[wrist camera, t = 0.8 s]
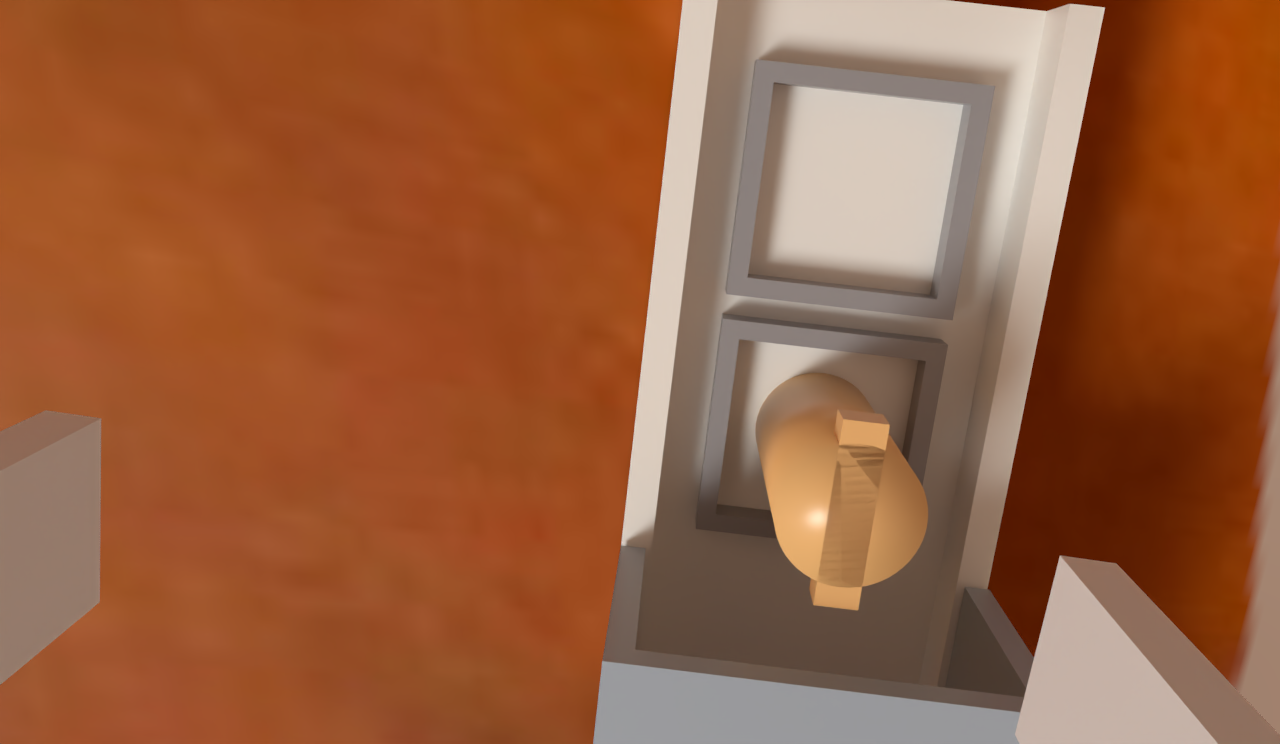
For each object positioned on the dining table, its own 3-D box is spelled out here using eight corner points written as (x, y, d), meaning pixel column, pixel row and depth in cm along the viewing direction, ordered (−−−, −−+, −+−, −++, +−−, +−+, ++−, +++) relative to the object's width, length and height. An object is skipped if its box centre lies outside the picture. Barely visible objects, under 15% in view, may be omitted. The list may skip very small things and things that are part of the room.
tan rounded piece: (766, 348, 35) (789, 412, 27) (886, 362, 35) (944, 431, 27) (745, 496, 36) (761, 599, 28) (861, 510, 36) (910, 616, 28)
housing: (687, -18, 34) (687, -39, 30) (1051, 22, 34) (1104, 7, 30) (609, 666, 40) (600, 732, 36) (921, 705, 40) (949, 775, 36)
